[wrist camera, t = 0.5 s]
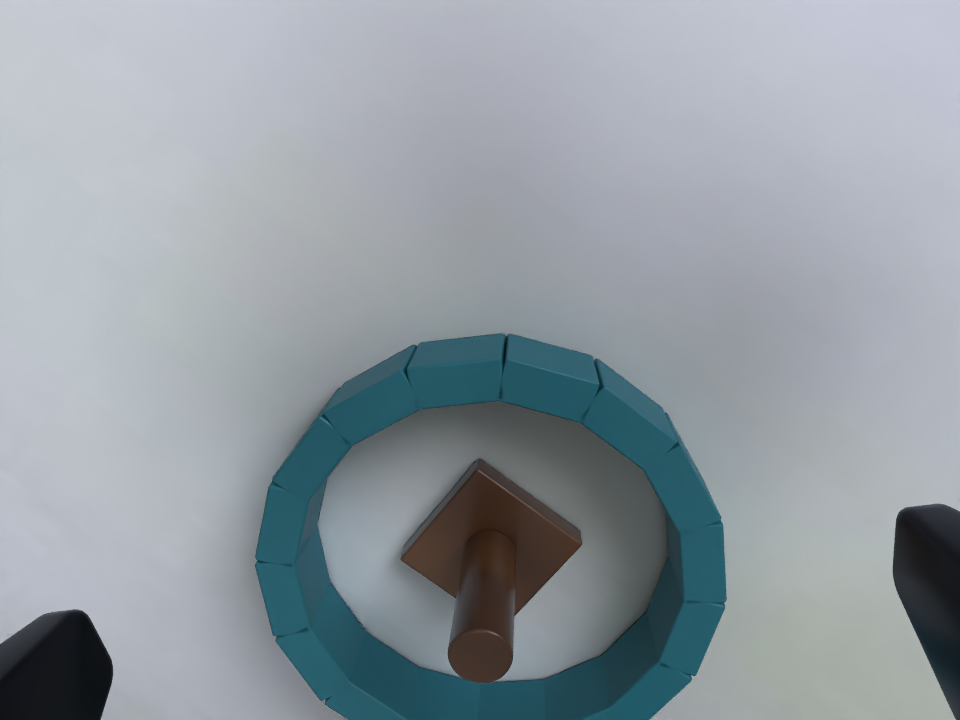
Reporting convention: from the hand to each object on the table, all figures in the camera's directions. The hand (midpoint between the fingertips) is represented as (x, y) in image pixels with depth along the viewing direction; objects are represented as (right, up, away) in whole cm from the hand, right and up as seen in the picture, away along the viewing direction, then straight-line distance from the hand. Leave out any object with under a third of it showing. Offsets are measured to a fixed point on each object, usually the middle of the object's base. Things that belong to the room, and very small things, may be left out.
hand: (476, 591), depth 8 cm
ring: (0, -3, +15) cm, 16 cm away
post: (0, -3, +15) cm, 16 cm away
